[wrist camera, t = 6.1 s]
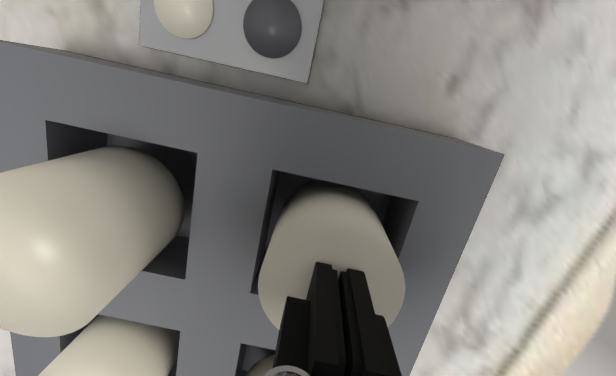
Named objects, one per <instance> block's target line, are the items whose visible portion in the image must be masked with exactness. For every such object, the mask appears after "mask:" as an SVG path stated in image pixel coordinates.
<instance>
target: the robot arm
mask: <svg viewBox="0 0 616 376" xmlns="http://www.w3.org/2000/svg"><path fill="white" fill-rule="evenodd" d="M263 376H402V375H401V371H400V368H399V364H398V361H397V358H396V354H395V351H394V347H393V344H392V341H391V337H390V334H389V330H388V327H387V323H386V320H385V318H384V317H383V316H381V315H377V314H375V311H374V307H373V304H372V300H371V296H370V292H369V288H368V284H367V280H366V276H365V273H364V272H363V271H359V270H354V269H350V268H348V269H347V271H346V272H343V271H341V273H340V275H339V279H338V273H337V270H334V269H332V265H331V264H326V263H321V262H316V263H315V266H314V270H313V274H312V278H311V282H310V286H309V290H308V294H307V297H306V300H304V299H300V298H295V297H290V296H287V298H286V302H285V307H284V311H283V315H282V320H281V325H280V329H279V334H278V340H277V345H276V351H275V357H274V362H273V368H272V369H270V370H269V371H268V372H267V373H266V374H264V375H263Z"/></svg>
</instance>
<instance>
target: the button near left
mask: <svg viewBox="0 0 616 376" xmlns="http://www.w3.org/2000/svg"><path fill="white" fill-rule="evenodd" d="M184 215H185V206H184V199H183V195H182V192H181V189H180V187H179V185H178V183H177V181H176V179H175V178H174V176H173V175H172V174H171V172H170V171H169V170H168V169H167V168H166V167H165V166H164V165H163V164H162V163H161V162H160V161H158V160H157V159H156V158H154V157H153V156H151V155H149V154H148V153H146V152H144V151H141V150H139V149H136V148H132V147H128V146H120V145H113V146H105V147H101V148H97V149H93V150H89V151H85V152H81V153H77V154H73V155H69V156H65V157H61V158H57V159H53V160H49V161H45V162H41V163H37V164H33V165H29V166H25V167H21V168H17V169H13V170H9V171H5V172H1V173H0V328H2V329H4V330H7V331H10V332H13V333H17V334H21V335H25V336H32V337H57V336H62V335H66V334H69V333H72V332H75V331H77V330H79V329H81V328H82V327H84V326H85V325H87V324H88V323H89V322H90V321H91V320H92V319H93V318H94V317H95V316H96V315H97V314H98V313H99V312H100V311H101V310H102V309H103V308H104V307H105V306H106V305H107V304H108V303H109V302H110V301H111V300H112V299H113V298H114V297H115V296H116V295H117V294H119V293H120V292H121V291H122V290H123V289H124V288H125V287H126V286H127V285H128V284H129V283H130V282H131V281H132V280H133V279H134V278H135V277H136V276H137V275H138V274H139V273H140V272H141V271H142V270H143V269H144V268H145V267H146V266H147V265H148V264H149V263H150V262H151V261H152V260H153V259H154V258H155V257H156V256H157V255H158V254H159V253H160V252H161V251H162V250H163V249H164V248H165V247H166V246H167V245H168V244H169V243H170V242H171V241H172V240H173V239H174V238H175V237H176V235H177V234H178V233H179V231H180V229H181V227H182V224H183V221H184Z"/></svg>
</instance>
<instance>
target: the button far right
mask: <svg viewBox="0 0 616 376" xmlns="http://www.w3.org/2000/svg"><path fill="white" fill-rule="evenodd" d="M274 357H275V354H274V355H271V356H268V357H265V358H263V359H261V360H259V361H258V362H256V363H255V364H254V365H253V366H252V367H251V368H250V369H249V371H248V372H247V375H246V376H263V375H264V374H266V373H267V372H268V371H269V370H270V369H272V368H273V362H274Z"/></svg>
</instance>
